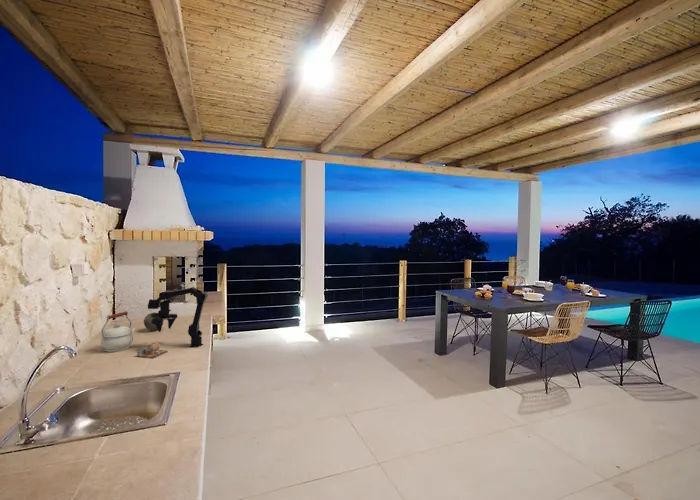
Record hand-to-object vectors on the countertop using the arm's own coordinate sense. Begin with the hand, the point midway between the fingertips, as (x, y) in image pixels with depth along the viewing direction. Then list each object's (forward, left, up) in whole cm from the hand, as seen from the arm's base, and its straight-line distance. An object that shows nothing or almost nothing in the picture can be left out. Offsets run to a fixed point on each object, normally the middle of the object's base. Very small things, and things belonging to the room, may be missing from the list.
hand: (164, 330), depth 228 cm
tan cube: (-4, +15, -11) cm, 19 cm away
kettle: (+28, +10, -12) cm, 32 cm away
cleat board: (-4, +15, -12) cm, 19 cm away
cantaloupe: (+38, -31, -12) cm, 51 cm away
